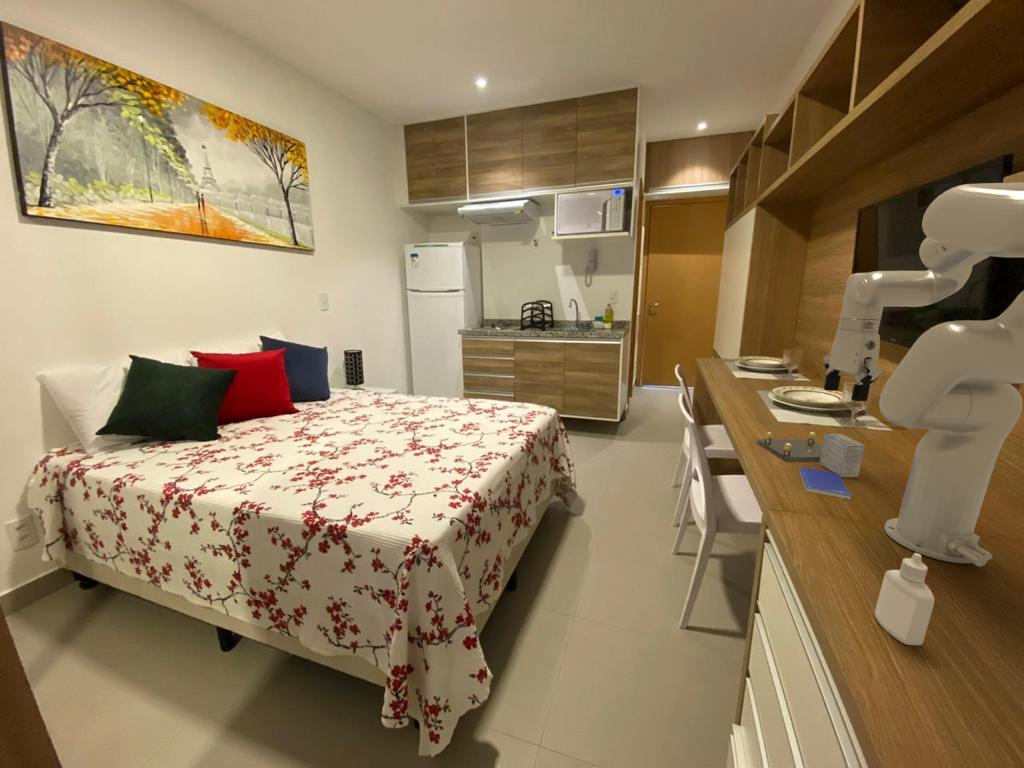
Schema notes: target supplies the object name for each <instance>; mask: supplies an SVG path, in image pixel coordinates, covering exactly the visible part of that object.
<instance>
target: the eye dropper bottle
mask: <svg viewBox="0 0 1024 768" xmlns="http://www.w3.org/2000/svg"><path fill="white" fill-rule="evenodd" d="M928 569H929V568H928V566H927V565H926V564H925V563H923V561H922V554H920V553H918V552H914V553H913V554H912V556H911V557H910V558H909V557H905V558H903V559H902V562H901V565H900V569H889V570H886V571H885V573H884V575H883V580H882V584H881V588H880V591H879V595H878V597H877V602H876V607H875V610H874V616H875V619H876V621H877V622H878V623H879V625H880V626H881V627H882V628H883V629H884V630H885V631H886V632H887V633H888V634H889V635H890V636H892V637H894V639H896V640H898V641H899V642H900V643H902V644H904V645H907V646H922V645H923V643H924V640H925V637H926V633H927V629H928V626H929V623H930V619H931V616H932V613H933V609H934V606H935V596H934V594H933V592H932V591H931V588H930V587H929V586H928V585H927V584H926V583H925V580H926V576H927V573H928Z"/></svg>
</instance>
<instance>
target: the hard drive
mask: <svg viewBox="0 0 1024 768" xmlns="http://www.w3.org/2000/svg"><path fill="white" fill-rule="evenodd" d="M798 471H800V472H799V474H800V477H801V480H802V483H803V486H804V488H805V492H809V493H813V494H814V493H816V494H820V495H826V496H830V497H836V498H840V499H845V498H847V499H846V500H852V496H851V493H850V491H848V488H847V487H846V484H845V482H844V481H843V479H842V477H840V476H839V474H837V473H834V472H832V471H827V470H826V471H825V470H821V469H814V468H810V467H803V466H800V467H799V468H798Z"/></svg>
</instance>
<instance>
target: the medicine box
mask: <svg viewBox="0 0 1024 768" xmlns="http://www.w3.org/2000/svg"><path fill="white" fill-rule="evenodd" d="M822 445H823V446H822V451H821V456H820V461H818V462H819V465H820V466H822V467H823V468H826V469H827V470H829V472H833V473H837V474H839V476H840V477H841V478H859V475H860V470H861V465H862V462H863V457H864V451H865V447H866V445H865V444H863V443H861V442H859V441H857V440H854V439H853V438H851V437H849V436H846V435H844V434H843V433H825V434H824V436H823V443H822Z"/></svg>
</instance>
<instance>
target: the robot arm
mask: <svg viewBox="0 0 1024 768" xmlns="http://www.w3.org/2000/svg"><path fill="white" fill-rule="evenodd" d="M921 222H922V223H921V227H922V232H923V233H924V235H925V239H923V240H922V242H921V244H920V246H919V254H918V255H919V257H920V260H921V262H922V263H923V265H924V266H925V267H926V268H927V270H877V271H869V272H856V273H852V274H850V275H849V276H848V277H847V280H846V285H845V290H844V295H843V301H842V305H841V309H840V310H841V311H840V316H839V322H838V325H837V326H838V327H837V331H836V334H835V336H834V339H833V343H832V346H831V350H830V353H829V354H827V355H825V356H824V357H823V358H824V368H825V372H824V373H825V375H826V376H825V380H824V381H825V382H824V387H823V390H824V391H827V392H828V391H829V392H832V391H833V392H836V391H838V390H839V387H840V382H841V376H842V375H840V374H841V373H843V374H848V375H852V376H854V379H855V381H856V383H854V384H853V389H852V393H851V394H852V395H851V399H850V400H851V401H854V402H867V400H868V397H869V394H870V393H869V392H870V388H871V386H873V385H874V382H876V380H878V377H879V375H880V374H881V373H882V368H881V367H880V366H879V365H878V363H879V357H880V348H881V347H880V345H881V342H880V341H881V340H880V339H881V338H880V337H881V336H880V334H879V330H880V329H879V327H880V324H881V319H882V315H883V311H884V307H886V308H887V307H908V308H909V307H910V308H917V307H918V308H919V307H920V308H921V307H926V306H929V305H930V306H931V305H932V304H935V303H938V302H940V301H941V300H943V299H946V298H947V297H949V296H952V295H953V294H955V293H957V292H958V291H960V290H961V289H962V288H963V287H964V285H965V284H966V283H967V282H968V280H969V278H970V276H971V273H972V271H973V266H974V265H976V264H978V263H981V262H982V261H983V260H986V259H987V258H989V257H998V258H1024V182H991V183H989V182H987V183H966V184H961V185H957V186H954V187H951V188H949V189H948V190H946V191H943V193H941V194H939V195H938V196H937V197H936V198H935V199H934V200H933V201H932V202H931V203H929V206H928V207H927V208H926V210H925V212H924V214H923V217H922V221H921ZM1012 384H1024V289H1023V290H1022V291H1021V292H1020V293H1019V294H1018V295H1017V296H1016V298H1015V299H1014V300H1013V301H1012V303H1010V305H1009V306H1008V307H1007V308H1006V309H1005V310H1004V311H1003V312H1002V313H1001V314H1000V315H999V316H997V317H995V318H992V319H988V320H969V319H968V320H953V321H952V320H951V321H946V322H945V321H944V322H942V323H939V324H936V325H934V326H932V327H930V328H929V329H927V330H926V331H924V332H923V333H922V334H921V335H920V336H918V338H917V339H916V341H915V342H913V345H912V346H911V348H910V349H909V350H908V351H907V353H906V354H905V356H904V357H903V358H902V360H901V361H900V363H899V364H898V366H897V367H896V368H895V370H894V371H893V372H892V374H891V375H890V376H889V378H888V380H887V381H886V382H885V384H884V386H883V388H882V389H881V393H880V396H879V401H878V403H879V410H880V413H881V415H882V416H883V417H884V419H885V420H886V421H887V422H889V423H890V424H893V425H895V426H899V427H900V428H901V427H902V428H908V429H917V430H918V429H920V430H928V431H927V432H926V433H925V435H923V436H922V438H921V439H920V441H919V442H918V444H917V447H916V449H915V452H914V456H913V459H912V463H911V467H910V471H909V475H908V479H907V483H906V486H905V491H904V494H903V498H902V502H901V506H900V510H899V514H898V517H894V518H890V519H887V520H886V522H885V523H884V531H885V533H886V534H887V535H888V536H889V537H890V538H891V539H892V540H893V541H895V542H897V543H898V544H899V545H901V546H902V547H905V548H907V549H909V550H911V551H913V552H914V553H918V554H920V555H923V556H926V557H929V558H933V559H936V560H940V561H943V562H949V563H953V564H973V565H975V566H976V567H983V566H985V565H986V564H987V563H988V561H990V560H991V559H992V558H993V554H992V553H991V552H990V551H987V550H986V549H984V548H982V547H980V546H979V541H980V538H981V537H980V536H979V535H978V534H976V533H975V532H974V530H975V528H976V525H977V521H978V518H979V515H980V512H981V508H982V506H983V502H984V498H985V495H986V493H987V489H988V485H989V482H990V480H991V477H992V474H993V471H994V468H995V465H996V461H997V459H998V456H999V453H1000V451H1001V448H1002V446H1003V444H1004V443H1005V440H1006V439H1007V437H1008V435H1009V434H1010V433H1011V431H1012V430H1013V428H1014V427H1015V426H1016V424H1017V422H1018V420H1019V418H1020V417H1021V414H1022V411H1023V398H1022V395H1021V393H1020V391H1018V389H1016V387H1015V386H1013V385H1012Z"/></svg>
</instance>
